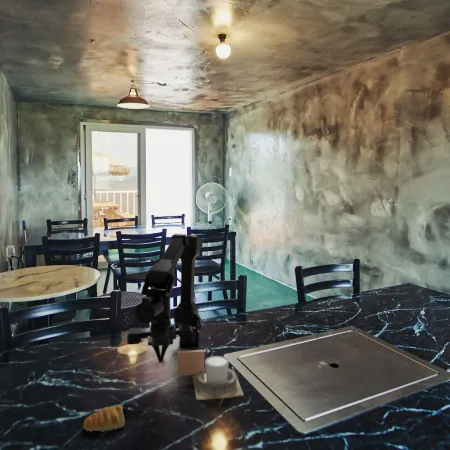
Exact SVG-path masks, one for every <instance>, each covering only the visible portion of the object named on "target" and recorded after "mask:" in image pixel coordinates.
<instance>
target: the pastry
mask: <svg viewBox="0 0 450 450" xmlns="http://www.w3.org/2000/svg"><path fill="white" fill-rule="evenodd" d="M125 420H126V419H125V415H124V411H123V406H122V405H121V404H117V405H115V406H108V407H107V406H105V407H103V408H102V409H100V410H99V411H96V412H93V413H92V414H91V415H89V416H87V417H86V418H85V419H84V421H83V425H82V426H83V429H84V430H85V431H86V432H88V431H90V432H89V433H93V432H92V431H101V432H100V433H104V431H105V432H109V431H113V429H115V430H118V428H119V429H121V428H123V427H124V426H125V424H126V421H125ZM108 430H109V431H108Z"/></svg>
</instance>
